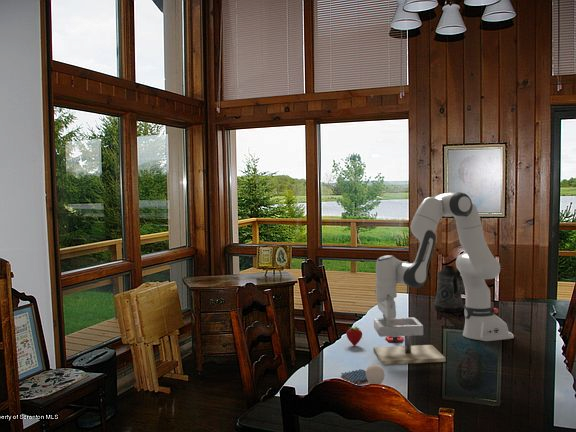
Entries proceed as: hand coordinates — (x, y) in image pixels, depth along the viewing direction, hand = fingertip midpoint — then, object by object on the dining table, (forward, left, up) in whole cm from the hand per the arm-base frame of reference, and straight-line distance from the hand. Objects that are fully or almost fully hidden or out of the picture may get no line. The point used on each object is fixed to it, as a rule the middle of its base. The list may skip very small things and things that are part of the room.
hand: (386, 324), depth 224 cm
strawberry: (+13, -11, -12) cm, 21 cm away
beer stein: (-53, -71, -12) cm, 89 cm away
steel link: (-3, +6, -2) cm, 7 cm away
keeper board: (-7, +7, -12) cm, 16 cm away
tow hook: (-7, -17, -13) cm, 22 cm away
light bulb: (+15, +47, -12) cm, 51 cm away
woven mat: (+18, +30, -13) cm, 37 cm away
